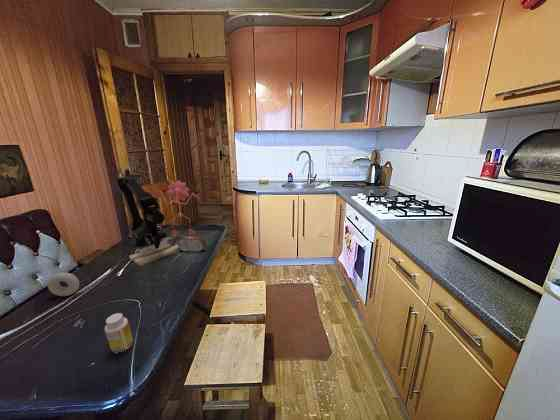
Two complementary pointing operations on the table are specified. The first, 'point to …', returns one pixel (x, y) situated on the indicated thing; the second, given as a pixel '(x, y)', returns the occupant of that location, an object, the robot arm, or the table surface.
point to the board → (154, 255)
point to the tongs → (155, 247)
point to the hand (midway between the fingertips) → (155, 247)
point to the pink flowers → (178, 193)
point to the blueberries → (80, 323)
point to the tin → (191, 243)
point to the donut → (66, 277)
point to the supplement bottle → (118, 333)
